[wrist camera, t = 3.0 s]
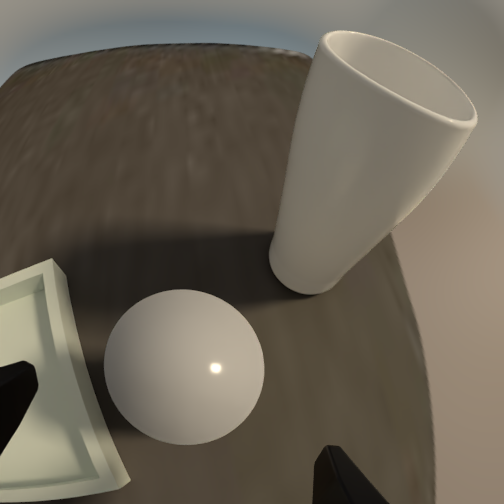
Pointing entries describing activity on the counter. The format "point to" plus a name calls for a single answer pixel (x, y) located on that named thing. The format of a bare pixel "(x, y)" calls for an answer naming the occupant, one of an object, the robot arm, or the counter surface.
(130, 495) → the counter surface
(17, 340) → the tray
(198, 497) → the counter surface
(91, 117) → the counter surface
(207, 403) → the shaker
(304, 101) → the drinking glass
